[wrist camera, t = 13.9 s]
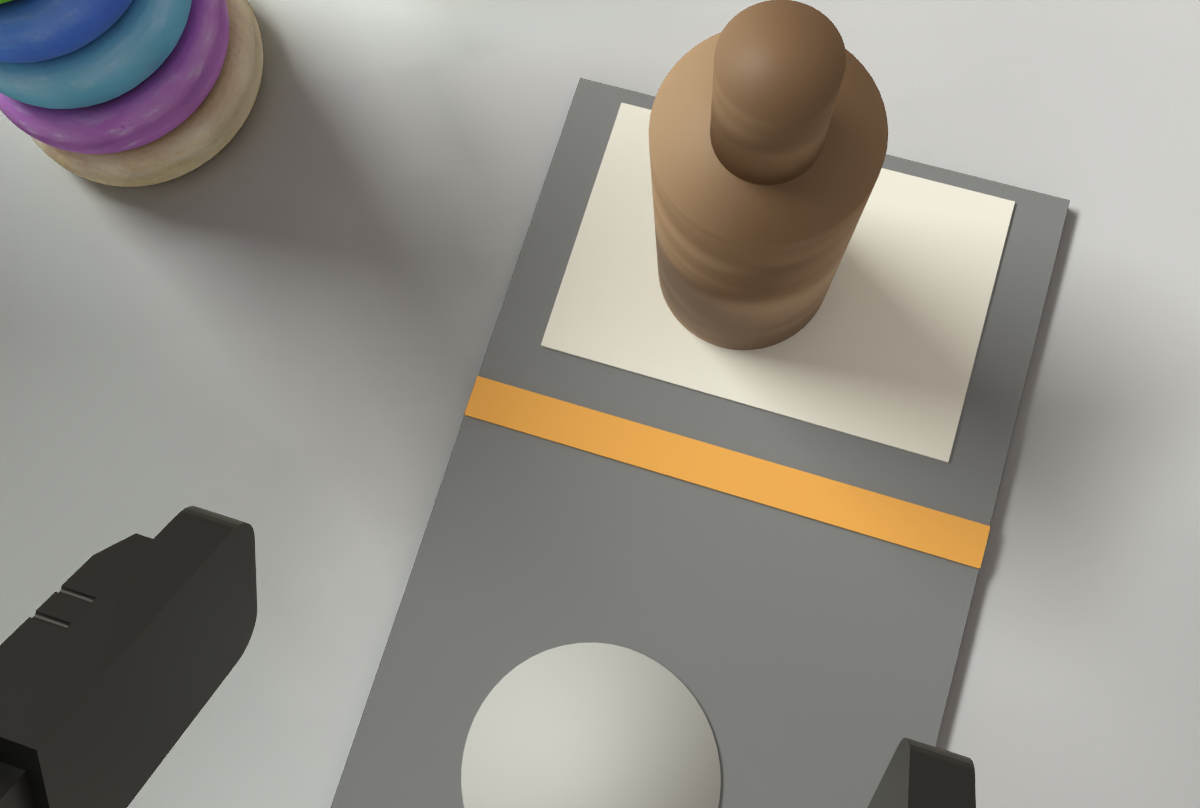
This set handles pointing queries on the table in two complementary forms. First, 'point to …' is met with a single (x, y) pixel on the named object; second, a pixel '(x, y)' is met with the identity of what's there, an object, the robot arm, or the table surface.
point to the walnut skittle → (761, 173)
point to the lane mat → (708, 509)
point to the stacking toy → (129, 82)
